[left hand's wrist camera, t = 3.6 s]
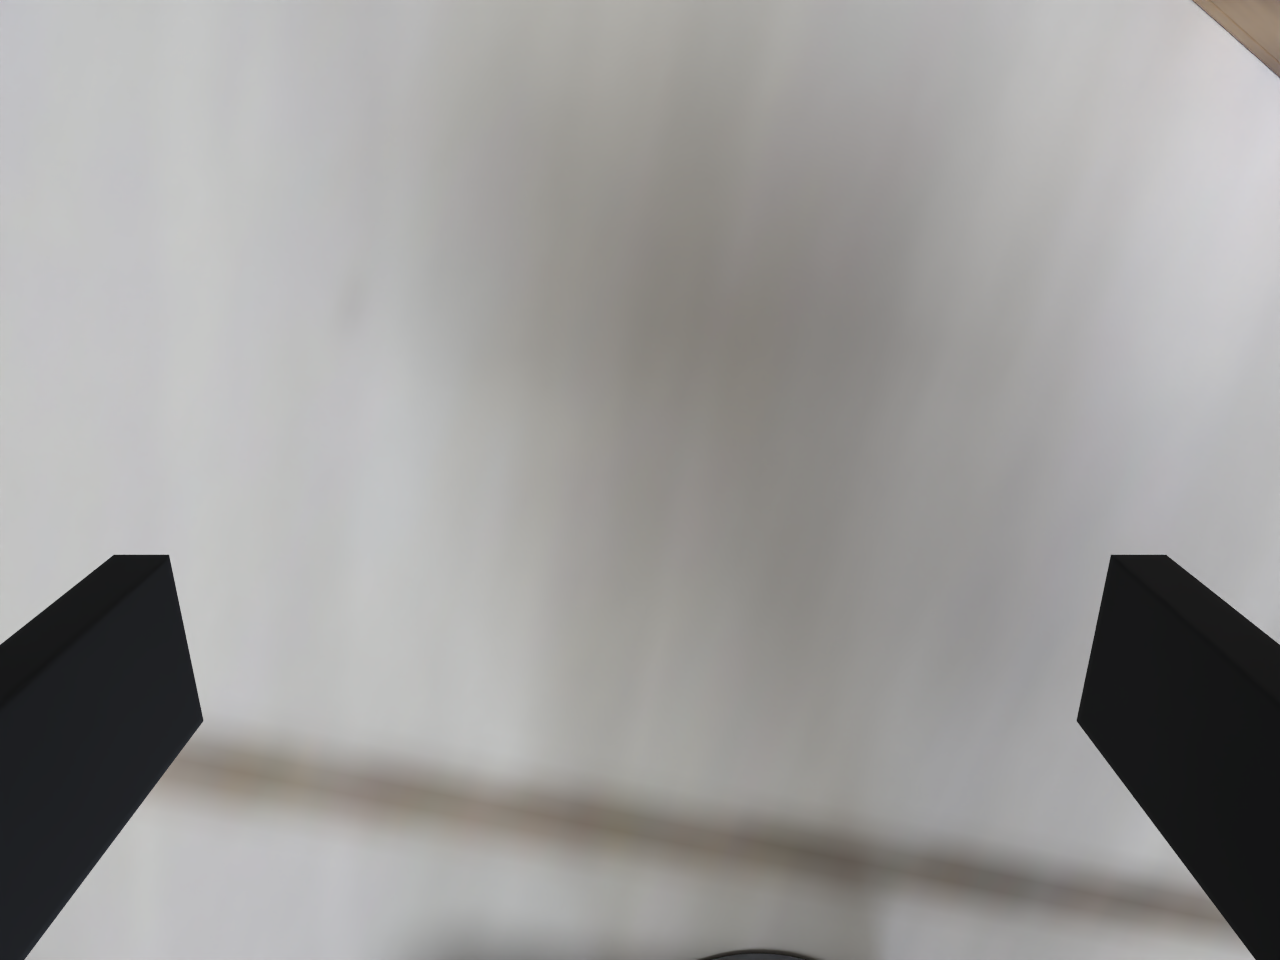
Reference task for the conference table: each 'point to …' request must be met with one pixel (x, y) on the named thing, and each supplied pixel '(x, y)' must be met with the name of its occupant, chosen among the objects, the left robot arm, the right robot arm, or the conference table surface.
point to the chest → (1250, 25)
